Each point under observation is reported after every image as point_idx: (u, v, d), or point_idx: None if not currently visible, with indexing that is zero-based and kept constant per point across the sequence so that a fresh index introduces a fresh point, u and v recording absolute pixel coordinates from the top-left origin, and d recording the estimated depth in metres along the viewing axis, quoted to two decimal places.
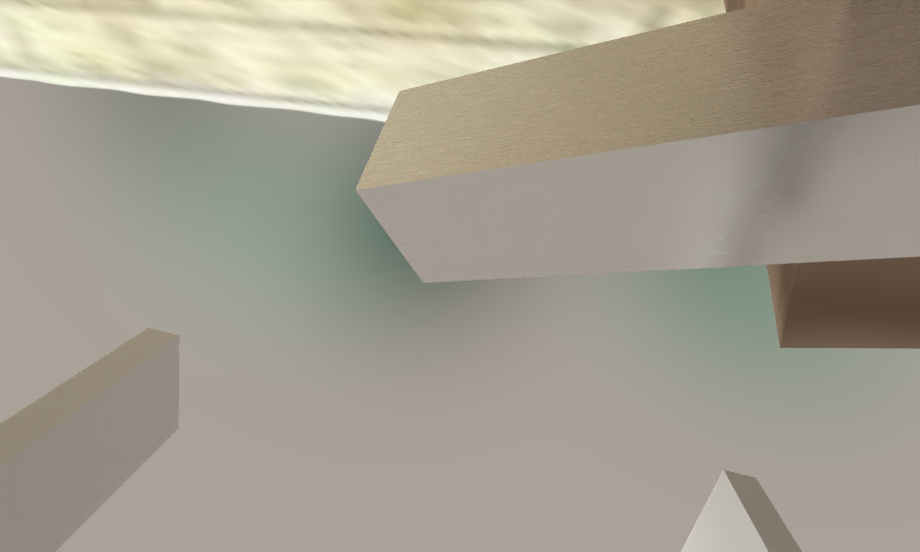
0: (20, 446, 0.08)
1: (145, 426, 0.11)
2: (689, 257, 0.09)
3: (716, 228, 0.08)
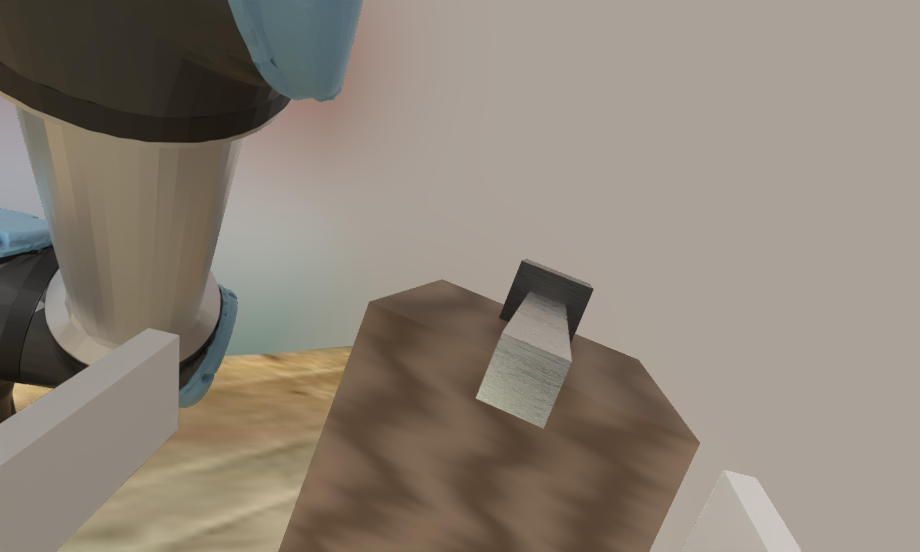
0: (20, 446, 0.08)
1: (145, 426, 0.11)
2: (562, 334, 0.26)
3: (549, 327, 0.26)
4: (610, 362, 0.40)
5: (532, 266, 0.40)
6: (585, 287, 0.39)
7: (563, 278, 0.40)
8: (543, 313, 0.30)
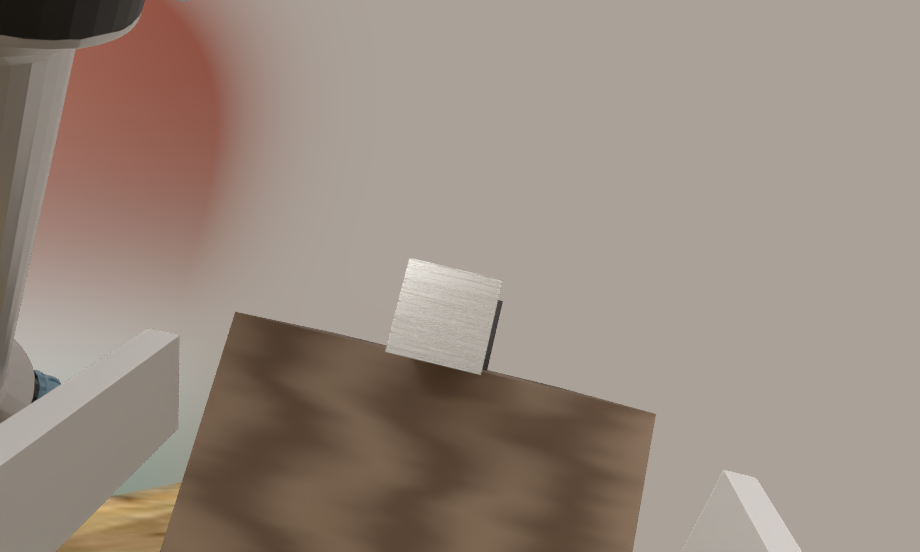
0: (20, 446, 0.08)
1: (145, 426, 0.11)
2: None
3: None
4: None
5: None
6: None
7: None
8: None
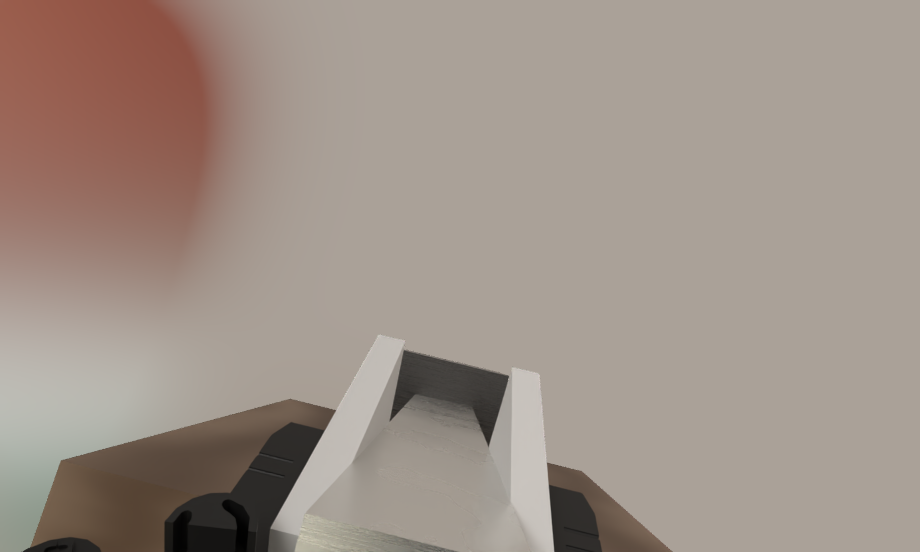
0: (359, 431, 0.10)
1: (385, 418, 0.13)
2: (484, 466, 0.12)
3: (452, 455, 0.12)
4: None
5: (414, 355, 0.26)
6: (496, 375, 0.26)
7: (463, 366, 0.26)
8: (438, 426, 0.16)
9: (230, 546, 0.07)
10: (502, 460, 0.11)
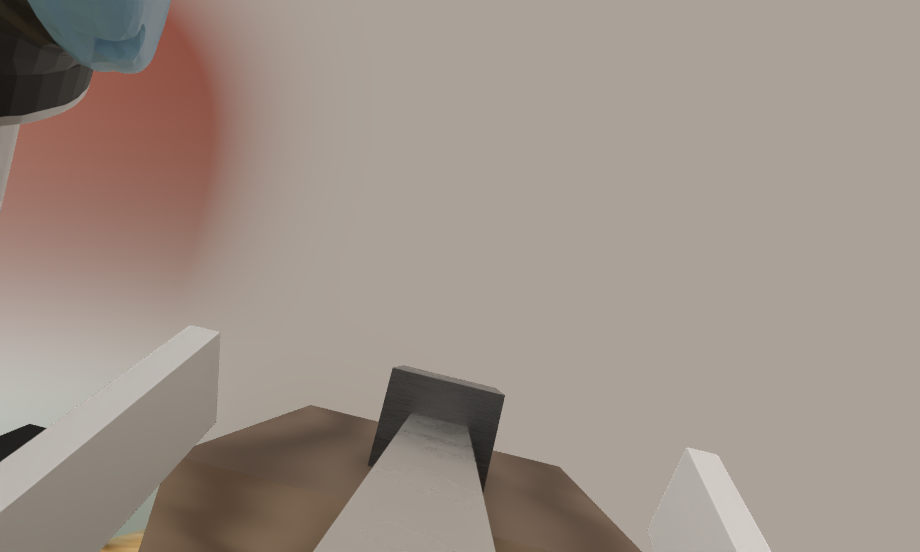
0: (87, 435, 0.09)
1: (189, 419, 0.12)
2: (473, 512, 0.11)
3: (442, 499, 0.12)
4: (529, 478, 0.32)
5: (410, 374, 0.26)
6: (492, 394, 0.26)
7: (458, 385, 0.26)
8: (430, 457, 0.16)
9: None
10: None
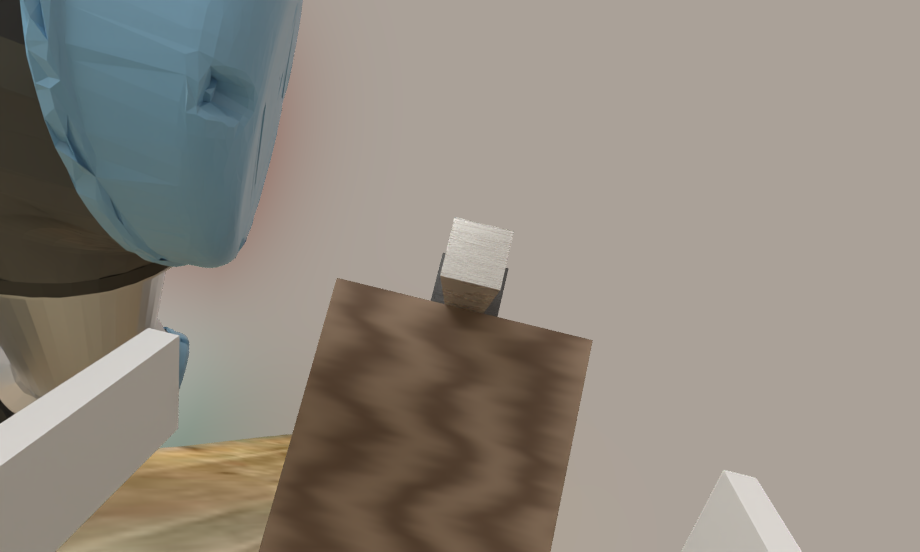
0: (20, 446, 0.08)
1: (145, 426, 0.11)
2: None
3: None
4: None
5: None
6: None
7: None
8: None
9: None
10: None
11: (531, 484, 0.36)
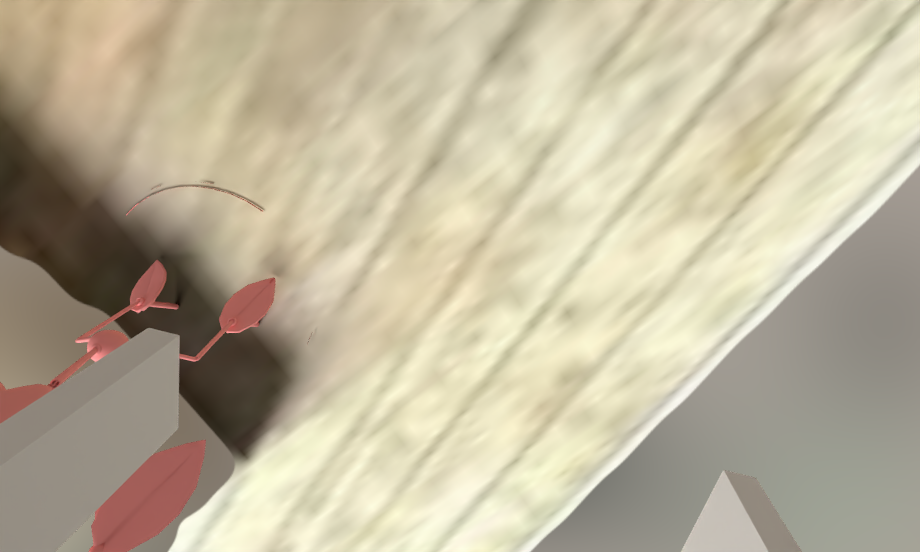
0: (20, 446, 0.08)
1: (145, 426, 0.11)
2: None
3: None
4: None
5: None
6: None
7: None
8: None
9: None
10: None
11: None
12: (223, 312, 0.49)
